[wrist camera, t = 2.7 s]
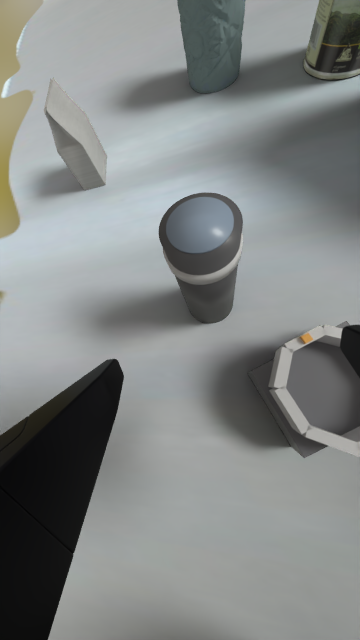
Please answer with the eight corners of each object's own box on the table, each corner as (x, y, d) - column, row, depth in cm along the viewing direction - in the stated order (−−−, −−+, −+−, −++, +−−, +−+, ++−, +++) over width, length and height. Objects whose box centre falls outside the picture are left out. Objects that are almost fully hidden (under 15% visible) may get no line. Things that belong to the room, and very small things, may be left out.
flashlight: (200, 333, 23) (178, 278, 11) (179, 295, 25) (142, 216, 13) (243, 310, 23) (265, 232, 11) (219, 273, 24) (216, 175, 13)
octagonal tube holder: (296, 454, 18) (324, 480, 13) (244, 367, 21) (250, 361, 16) (391, 406, 18) (457, 413, 13) (325, 324, 20) (357, 305, 16)
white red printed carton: (107, 156, 35) (65, 72, 26) (105, 185, 33) (59, 105, 24) (87, 161, 36) (39, 82, 27) (84, 190, 34) (31, 115, 24)
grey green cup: (190, 103, 35) (175, -30, 24) (181, 71, 39) (164, -58, 27) (251, 81, 34) (265, -70, 23) (236, 50, 37) (241, -94, 26)
